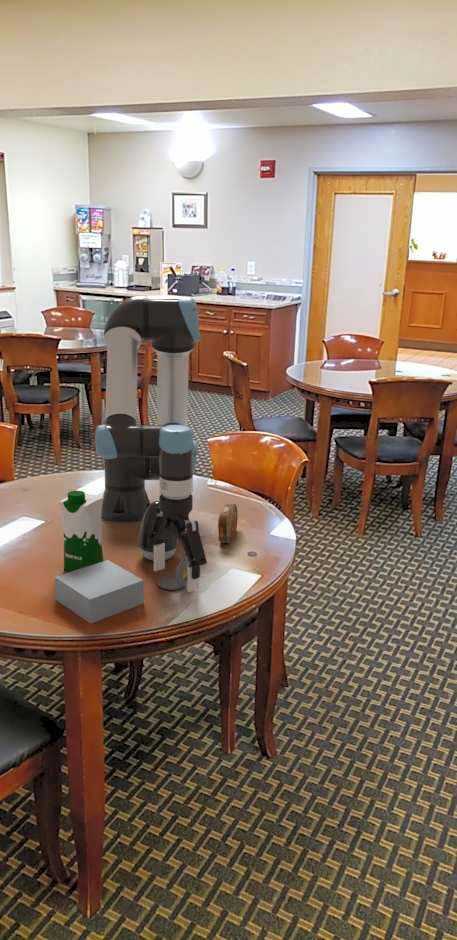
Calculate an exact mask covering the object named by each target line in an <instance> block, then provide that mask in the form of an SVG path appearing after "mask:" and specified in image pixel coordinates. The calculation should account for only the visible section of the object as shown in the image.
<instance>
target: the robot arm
mask: <svg viewBox="0 0 457 940" xmlns="http://www.w3.org/2000/svg"><path fill="white" fill-rule="evenodd" d="M197 306H198V305H197V302H196V300H195V299H194V298H193V297H190V296H189V297H188V296H179V295H134V296H131V297H129V298H127V299H125V300H124V301H122V302H121V303H119V304H118V305H117V306H116V307H115V308H114V309H113V311H112V312H111V313H110V315H109V317H108V319H107V321H106V323H105V326H104V331H103V342H104V345H105V346H106V348H107V352H106V354H107V355H106V382H105V383H106V385H105V409H104V413H105V414H104V424H100V425H97V426H96V427H95V434H94V435H95V437H94V439H95V440H94V445H95V453H96V455H97V456H98V457H100V458H101V457H102V458H103V459H104V491H103V493H102V497H104V498H103V504H102V511H101V518H102V519H105V520H107V521H111V522H117V523H119V522H121V523H129V522H136V521H142V519H143V516H144V513H145V511H146V509H147V508H148V506H149V505H150V504H151V502H150V499H149V495H148V493H147V490H146V486H145V485H146V484H145V483H146V481H159V496H158V498H159V499H158V501H159V507H155V513H154V518H153V520H152V523H151V526H150V529H149V532H148V535H147V538H148V539H151V542H152V544H153V555H154V561H153V571H154V572H157V571H158V572H159V571H162V570H164V569H166V560H165V544H164V543H161V542H164V541H163V540H164V539H165V537H166V536H167V534H168V533H169V532H172V533H174V534H175V535H176V536H177V538H178V541H180V543H181V545H182V548H183V552H184V551H185V554H186V558H188V560H189V563H190V564H189V565H188V574H187V585H186V586H187V589H186V590H187V592H189V593H191V592H195V591H197V590H198V591H199V589H200V577H201V567H202V566H204V565H207V557H206V553H205V549H204V546H203V542H202V539H201V535H200V529H199V521H198V520H195V521H194V520H193V521H191V520H190V517H189V516H190V513H191V512H192V511H193V497H194V496H193V492H194V473H195V469H196V466H197V465H196V464H197V456H198V455H197V454H198V441H197V440H194V431H193V429H192V428H191V427H189V426H188V419H189V418H188V417H189V416H188V412H189V411H188V409H189V407H188V405H189V369H190V368H189V367H190V365H189V364H190V363H189V362H190V359H189V358H190V353H192V352H193V351H194V349H195V348H196V347H195V346H196V345H195V344H196V343H198V342H200V341H201V333H200V322H199V321H200V320H199V315H198V314H199V313H198V307H197ZM142 341H144V342H151V343H150V345H151V349H152V350H153V351H154V352H155V353H156V357H157V358H156V364H157V365H156V373H157V374H156V376H157V378H156V379H157V380H156V384H157V385H156V386H157V387H156V388H157V389H156V390H157V391H156V393H157V394H156V395H157V397H156V398H157V399H156V402H157V404H156V405H157V406H156V409H157V411H156V413H157V415H156V417H157V419H156V421H157V423H156V424H155V425H154V424H152V425H151V424H150V425H148V424H145V425H144V424H138V421H137V420H138V349H139V348H140V346H141V345H142Z"/></svg>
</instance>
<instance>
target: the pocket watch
mask: <svg viewBox="0 0 457 940" xmlns="http://www.w3.org/2000/svg"><path fill="white" fill-rule="evenodd" d="M181 556H182V557H183V558H182V559H181V560H180V561H179V564H178V565H177V568H176V570H175V574H169V575H168V574H167V575H163V576H161V577H159V578H158V580H157V585H158V587H159V588H161V589H164V590H171V591H173V590H179V589H182V588H184V587H185V586H187V574H188V565H189V564H190V563H189V560H188V558H187V555H186V553H185V551H184V550H183V552H182V553H181Z"/></svg>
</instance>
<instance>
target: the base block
mask: <svg viewBox="0 0 457 940" xmlns="http://www.w3.org/2000/svg"><path fill="white" fill-rule="evenodd" d="M144 581H145V580H144V579H142V578H140V577H139V576H137V575H135V574H133V573H132V572H130V571H128V570H126V569H124V568H122V567H120V566H119V565H118V564H115V562H112V561H110V560H108V559H106V560H103V562H100V563H97V564H94V565H91V566H87V567H84V568H81V569H78V570H75V571H68V572H66V573H63V574H60V575H57V576H54V588H55V601H57V602H58V603H60V604H61V605H63V606H64V607H65V608H66V609H68V610H70V611H71V612H73V613H74V614H76V616H78V617H80V618H82V619H83V620H85V622H88V623H89V624H93V623H95V622H99V621H101V620H104V619H107V618H109V617H112V616H114V615H116V614H119V613H122V612H124V611H127V610H130V609H132V608H135V607H138V606H141V605H143V604H144V601H145V600H144V599H145V598H144V596H145V592H144V588H145V587H144V586H145V585H144V584H145V583H144Z"/></svg>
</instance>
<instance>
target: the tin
mask: <svg viewBox="0 0 457 940" xmlns="http://www.w3.org/2000/svg"><path fill="white" fill-rule="evenodd" d="M217 521H218V522H217V527H218V540H219V541H218V542H220V543H221V544H231V543H232V541H233V538H234V537H235V534H236V532H237V529H238V508H237V505H236V503H231V504H230V503H227V504H225V506H224V507H223V509H222V510H221V512H220V514H219V516H218V520H217Z"/></svg>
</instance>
